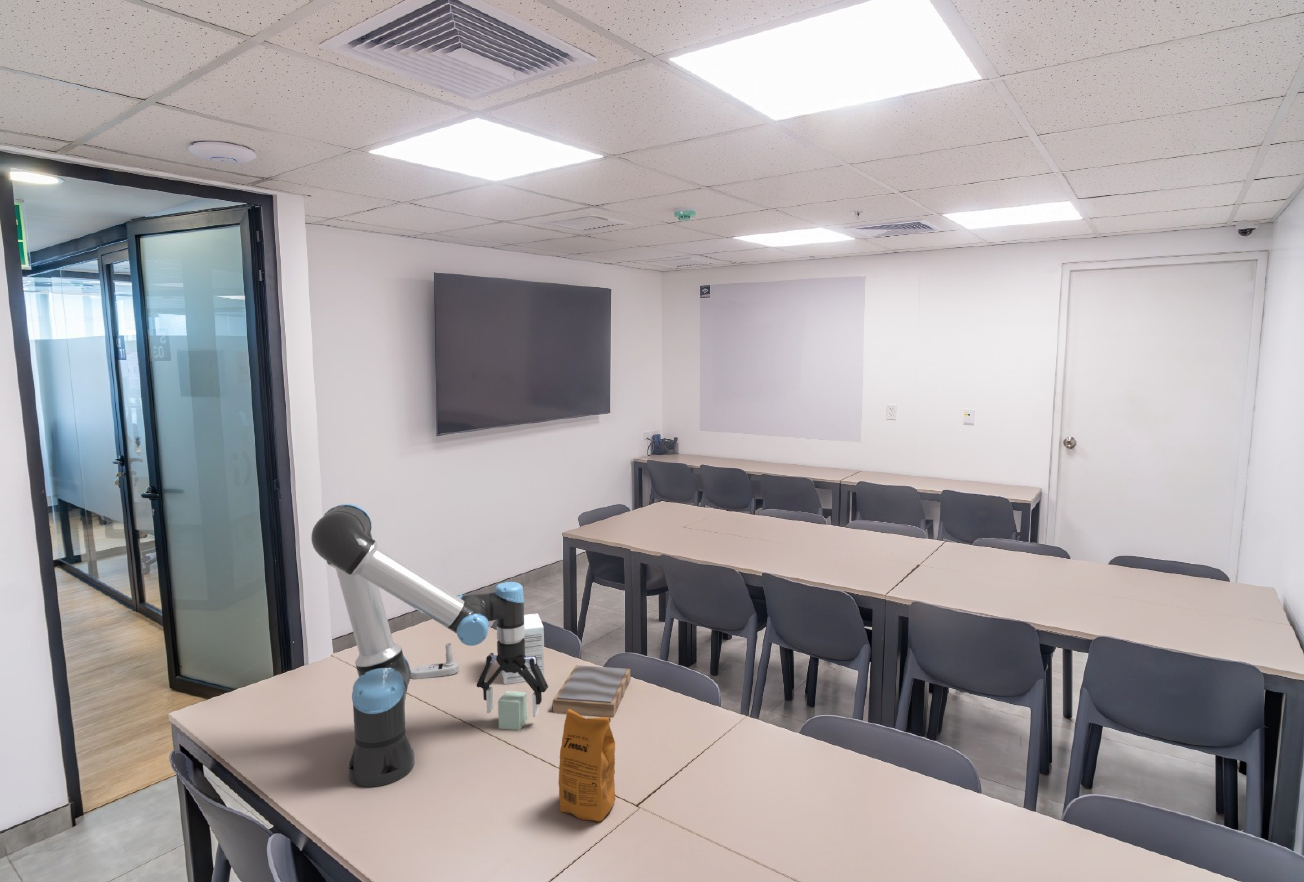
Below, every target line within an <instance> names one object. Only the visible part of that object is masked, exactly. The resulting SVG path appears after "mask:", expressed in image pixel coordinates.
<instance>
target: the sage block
mask: <svg viewBox="0 0 1304 882" xmlns="http://www.w3.org/2000/svg"><path fill="white" fill-rule="evenodd" d="M527 701H528V699H527V692H524V691H513V690H505V692H504V693H503V694H502V695H501V696H500V698H499V699H498V700H497V710H498V713H497V714H498V729H502V730H512V731H513V730H514V731H521V729H522V728H523V726H524V724H525V723H526V722H527V720H528V703H527Z"/></svg>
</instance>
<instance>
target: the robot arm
mask: <svg viewBox="0 0 1304 882" xmlns="http://www.w3.org/2000/svg"><path fill="white" fill-rule="evenodd" d="M372 524H373V523H372V520H371V517H370V515H369V513H368V511H366V510H365V509H364V508H362V507H361V506H359V505H356V504H352V503H343V504H342V503H341V504H338V505H337V506H334V507H331V508H330V509H328V510H327V511H326V512H325V513H324V515H323V516H322V517H321V518H319V520H318V521H317V522H316V523H315V524H314V526H313V528H312V532H311V538H310V539H311V544H312V548H313V549H314V550H315V552H316V553H317V555H318V556H319V557H321V558H322V559H323V560H324V561H325V562H326V564H327V565H328V566H329V567H332V568H334V569H335V571H336V575H337V577H338V582H339V585H340V588H341V593H342V596H343V599H344V600H343V601H344V603H345V607H346V610H347V614H348V618H349V622H350V625H351V628H352V633H353V635H354V639H355V643H356V646H357V650H358V653H359V654H358V656H357V658H356V659H355V661H354V662H355V663H354V665H355V667H356V671H357V675H358V678H356V680H355V681H354V683H353V686H352V691H351V700H352V706H353V708H352V711H353V725H354V726H353V729H354V747H353V749H352V754H351V755H350V759H349V760H350V761H349V763H348V769H347V770H348V779H349V781H350V782H351V783H352V784H355V785H356V786H360V787H365V788H366V787H368V788H369V787H373V788H374V787H381V786H385V785H389V784H391V783H394V782H396V781H399V780H400V779H402V778H404V777H405V776H407V775H408V774H409V773H410V772H411V771H412V770H413V768H414V767H415V752H414V750H413V749H412V746H411V743H410V741H409V738H408V736H407V731H406V729H407V728H406V709H405V707H406V697H407V692H408V688H409V687H408V686H409V684H410V679H411V666H410V663H409V661H408V660H407V658H406V657H405V656H404V653H403V649H402V646H401V645H400V644H398V643H396V642H394V640H393V636H392V631H391V628H390V624H389V620H388V617H387V612H386V609H385V605H384V601H383V597H382V594H381V591H380V589H382V590H383V591H385V592H386V593H388V594H390V595H391V596H393V597H395V598H397V599H399V601H402V602H403V603H404V604H407V605H408V606H410V607H412V608H413V609H415V610H417V611H418V612H421V613H422V614H423V615H425V616H426V617H429V618H430V619H431V620H433V621H435V622H436V623H438V624H440V625H442V626H443V627H444V628H447V629H449V630H450V631H452V632H453V633H454V634H456V636H457V638H458V639H459V641H460V642H461V643H462V644H463V645H466V646H470V647H472V646H477V645H480V644H481V643H483V642H484V641H485V639H487V636H488V633H489V628H490V623H489V622H493V621H496V639H497V641H496V652H497V654H496V655H495V654H494V653H493V652H490V653H489V654H488V655H487V656H486V657H485V658H486V659H485V665H484V666H483V667H484V668H483V670H482V672H481V674H480V676H479V678H478V680H477V682H476V685H475V687H477V688H481V689H482V691H483V692H482V693H483V695H482V696H483V700H484V701H486V714H491V712H492V711H493V710H494V687H493V686H491V685H492V683H493V682H494V681H495V680H496V679H497V677H498V676H499V675H500V674H502V672H501V671H502V670H503V671H505V673H509V672H511V673H516V672H518V674H519V675H520V676H522V677H523V678H524V680H525V681H526V683H527V684H528V686H529V687H530V689H531V690H532V691H533V693H532V695H531V696H532V717H533V718H536V717H537V716H538V714H539V713H540V710H539V707H540V705H541V703H542V699H543V698H542V693H545V692H546V691H547V689H548V688H549V685H548V683H547V680H546V679H545V678H546V677H545V675H544V676H543V674H542V672H541V670H540V668H539V666H538V664H537V658H536V656H533V657H526V656H525V639H524V636H525V631H524V615H525V596H524V587H523V585H522V584H521V583H519V582H517V581H505V582H501V583H499V584H497V585H496V586H495V590H494V592H493V591H492V592H485V593H484V592H483V593H474V594H473V593H471V594H470V593H469V594H461V595H455V594H453V593H452V592H451V591H449V590H448V589H445V588H444V587H442V586H441V585H439V584H438V583H436V582H435V581H433V580H431V579H430V578H428V577H426V576H424V575H423V574H421V573H419V572H418V571H417V570H415V569H413V568H412V567H410V566H409V565H407V564H405V563H403V562H402V561H400V560H399V559H397V557H396V558H395V557H394V556H392V555H391V554H389V553H388V552H386V551H384V550H382V549H381V548H379V547H378V541H376V540H375V539H373V535H372V532H371V531H372V527H373V526H372ZM495 662H496V663H497V664H498V665H499V667H498V668H497V669H496V670H495V671H494V672H493V674H492V675H491V676H490V677H489V679H488V680H487V681H486V679H487V677H488V674H489V672H490V670H491V668H492V665H493V663H495ZM526 662H527V663H528V666H530V668H531V671H532V673H533V675H534V677H535V678H534V677H533V676H532V674H531V673H530V672H529V671H528V668H527V667H526V665H525V663H526ZM521 668H522V669H521Z"/></svg>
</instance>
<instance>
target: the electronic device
mask: <svg viewBox="0 0 1304 882" xmlns="http://www.w3.org/2000/svg"><path fill="white" fill-rule="evenodd" d="M452 651H453V648H452V643H450V642H449V643H446V644H445V659H446V660H445V662H441V663H440V662H439V663H434V664H433V663H431V664H425V665H418V666H417V665H416V666H414V667H412V668H410V671H411V675H410V679H412V680H423V679H430V678H436V677H437V678H439V677H446V676H452V675H455V674H457V673H458V672H459V670H460V669H459V668H460V667H459V663H458V662H456V661H454V660H453V652H452Z"/></svg>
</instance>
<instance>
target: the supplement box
mask: <svg viewBox="0 0 1304 882" xmlns="http://www.w3.org/2000/svg"><path fill="white" fill-rule="evenodd" d="M544 629H545V628H544V625H543V622H542V619H541V618H540V615H539V613H529V614H524V631H525V636H524V639H525V656H526V657H533V656H536V658H537V664H538V666H539V668H540V670H541V672H542V674H543V676H544V677H545V637H544V636H545V635H544V634H545V631H544ZM525 665H526V667H527V668H528V671H529V672H530V673H531V674H532V676H533V677H534V675H533V673H532V671H531V668H530V666H528V663H527V662H526V663H525ZM521 669H522V668H521ZM501 677H502V681H503V684H504V685H509V684H517V683H523V682H526V681H525V680H524V678H523V677H522V676H520V675H519V674H518V672H516V673H511V672H509V673H505V671H503V670H502V671H501ZM534 678H535V677H534ZM526 683H527V682H526Z"/></svg>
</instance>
